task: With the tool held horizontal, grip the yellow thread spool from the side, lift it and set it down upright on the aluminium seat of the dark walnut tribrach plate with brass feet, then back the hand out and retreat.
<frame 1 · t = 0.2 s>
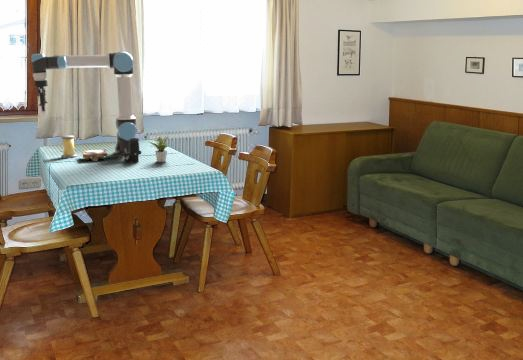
hand: (44, 115, 387), 27 cm above the table, tool pointing down, fingers open, 13 cm apart
scope: (133, 161, 389), on the table
house plant: (162, 161, 391), on the table
yellow thread spool: (69, 156, 403), on the table
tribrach: (94, 159, 395), on the table
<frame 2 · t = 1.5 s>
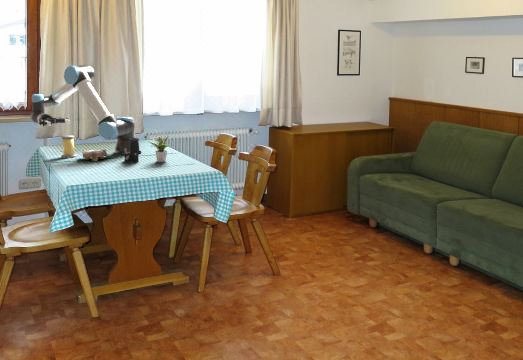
hand: (60, 123, 405), 20 cm above the table, tool horizontal, fingers open, 13 cm apart
nothing on the table moved.
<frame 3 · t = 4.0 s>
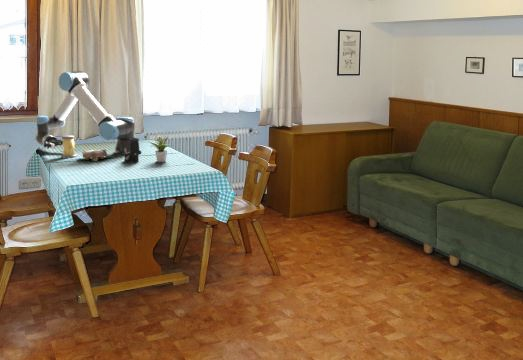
hand: (64, 145, 405), 7 cm above the table, tool horizontal, fingers open, 13 cm apart
nothing on the table moved.
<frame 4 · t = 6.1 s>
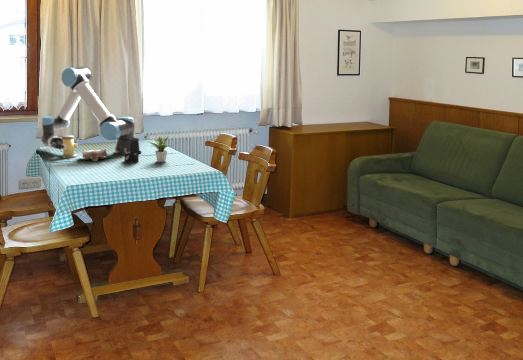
hand: (72, 146, 398), 7 cm above the table, tool horizontal, fingers closed on yellow thread spool, 7 cm apart
yellow thread spool: (69, 156, 403), on the table, touching gripper
everything else where it was.
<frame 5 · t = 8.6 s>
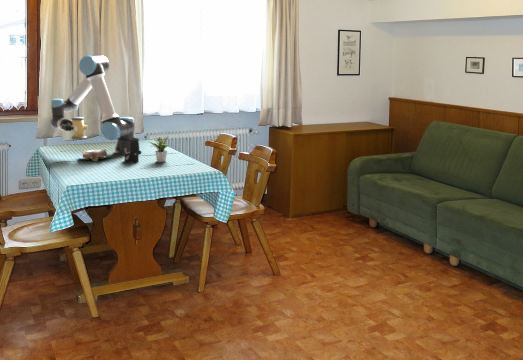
hand: (82, 128, 392), 19 cm above the table, tool horizontal, fingers closed on yellow thread spool, 7 cm apart
yellow thread spool: (79, 138, 397), point 12 cm above the table, touching gripper
everything else where it was.
when the fingers open (13 cm above the table, at t = 10.9 s): yellow thread spool drops 2 cm, resting on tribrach.
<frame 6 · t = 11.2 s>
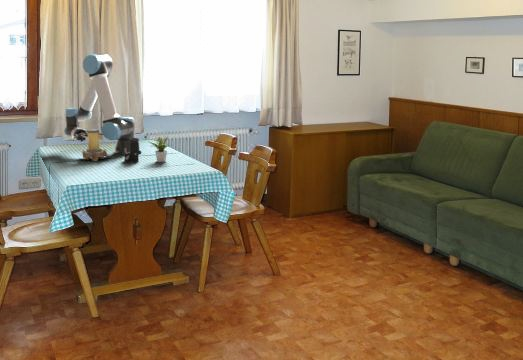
hand: (96, 138, 389), 13 cm above the table, tool horizontal, fingers open, 9 cm apart
yellow thread spool: (94, 151, 394), point 5 cm above the table, touching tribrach
everything else where it was.
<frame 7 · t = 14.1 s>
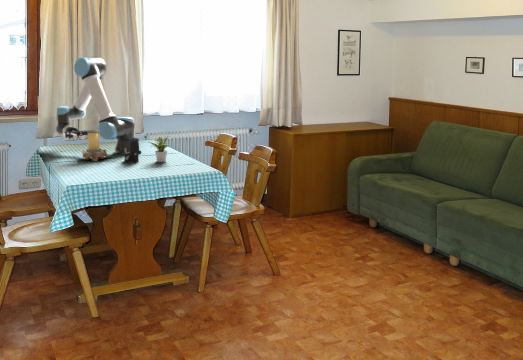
hand: (86, 135, 399), 14 cm above the table, tool horizontal, fingers open, 13 cm apart
nothing on the table moved.
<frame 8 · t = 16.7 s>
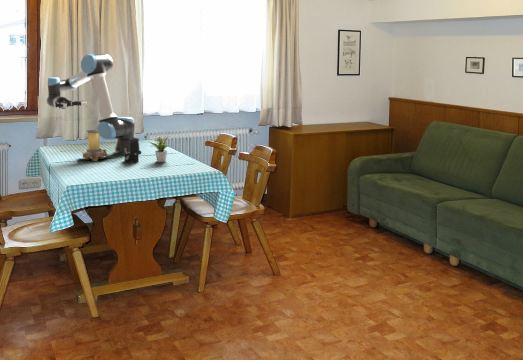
hand: (76, 105, 400), 32 cm above the table, tool horizontal, fingers open, 13 cm apart
nothing on the table moved.
at the end: yellow thread spool inside the target area on the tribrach (0.1 cm from its centre), point 4.8 cm above the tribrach's base; yellow thread spool tilted 0°; the gripper is holding nothing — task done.
